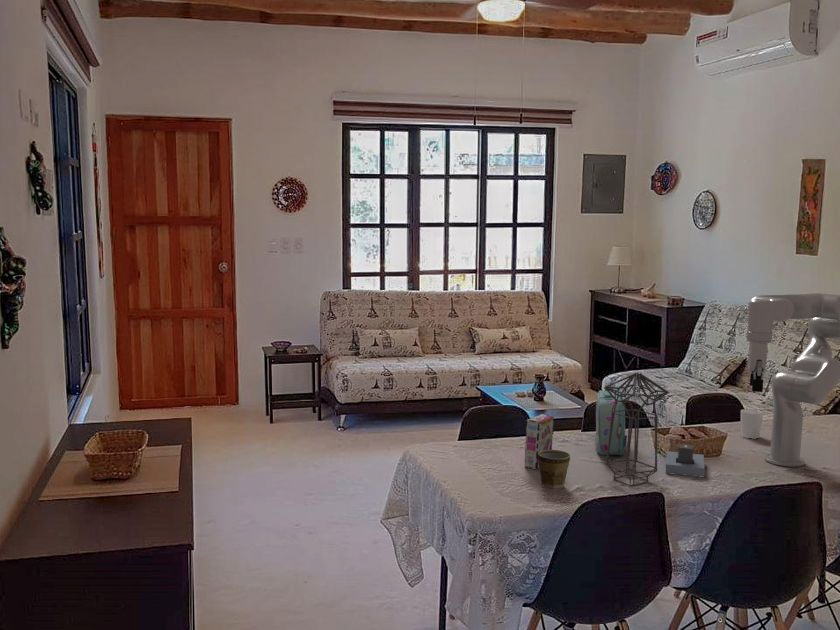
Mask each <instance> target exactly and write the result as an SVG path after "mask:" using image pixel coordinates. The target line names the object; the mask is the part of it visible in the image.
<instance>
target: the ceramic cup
mask: <svg viewBox="0 0 840 630" xmlns="http://www.w3.org/2000/svg"><path fill="white" fill-rule="evenodd" d="M570 460H571V454H570V453H569V452H567V451H564V450H558V449H552V450H543V451H540V452H538V461H539V467H540V468H539V473H540V479H541V480H540V481H541V485H542V486H543V485H544V486H543V487H545V488H546V487H548V488H547V489H552V488H558V489H562V488H563V487H564V486H565V482H566V478H567V472H568V469H569V465H570Z"/></svg>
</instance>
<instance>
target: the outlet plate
mask: <svg viewBox="0 0 840 630" xmlns="http://www.w3.org/2000/svg"><path fill="white" fill-rule="evenodd" d="M678 453H679V451H678V452H677V451H666V458H665V471H664V472H665V474H669V473H674V474H673V475H678V474H686V475H685V476H687V475H697V476H704V477H705V457H704V454H699V453H698V454H697V453H693V458H692V464H684V463H678ZM697 476H696V477H697Z"/></svg>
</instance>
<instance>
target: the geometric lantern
mask: <svg viewBox="0 0 840 630" xmlns="http://www.w3.org/2000/svg"><path fill="white" fill-rule="evenodd" d="M623 381H624V382H623ZM632 381H633V383H632ZM620 382H623V383H622V384H620V386H618V387H616V386H613V385H615V384H618V383H620ZM652 385H653V386H652ZM654 386H655V387H656V388H657V389H655V388H654ZM637 387H638V394H637V395H636V388H637ZM628 388H629V389H628ZM603 389H604V390H605V391H608V393H609V394H610V395H611V396H612V397H613V399H614V400H615V402H616V403H615V402H614V405H615V407H614V405H613V408H614V411H613V408H612V411H613V412H612V411H611V412H612V414H611V424H610V433H609V443H608V452H607V455H606V461H605V465H606V467H608V468H609V470H611V472H612V473H613V481H616V482H619V483H622V484H624V485H626V486H629V487H634V486H638V485H643V484H647V483H649V477H650V476H652V475H653V474H655V473H657V471H658V425H659V424H658V423H659V421H658V420H659V415H658V414H657V407H656V403H657V402H658V401H659V400H661V399H663V398H664V397H665V396H666V395H668V394H670V391H668V390H667V389H665V388H664V387H662V386H660V385H659V384H658V383H656V382H655V381H653V380H651V379H650V378H648V377H647V376H645V375H644V374H643V373H641V372H640V373H639V372H633V373H632V374H630V375H628V376H626V377H624V378H621V379H618V380H616V381H614V382H611V383H609V384H607V385H605V386H604V387H603ZM621 389H622V390H621ZM627 389H628V390H627ZM658 389H659V390H658ZM619 390H621V392H620V391H619ZM610 391H611V392H612V393H614V394H615V397H614V396H613V395H612V394H611V392H610ZM614 391H615V392H614ZM631 391H632V393H629V392H631ZM646 391H648V392H649V393H650V394H647V392H646ZM617 392H618V394H617ZM641 392H642V393H641ZM619 393H620V395H619ZM616 395H617V399H616ZM619 397H620V399H621V400H618V398H619ZM621 397H622V398H624V399H623V400H622V398H621ZM632 397H637V398H640V400H641V401H642V405H641V406H640V407H639V409H634V408H633V406H632V405H631V403H630V402H629V399H630V398H632ZM644 397H645V398H646V399H645V400H644V399H643V398H644ZM649 400H651V401H652V402H649ZM626 401H627V403H628V405H629V406H630V408H631V409H628V408H627V407H626V404H625V402H626ZM617 402H622V403H623V405H624V409H625V410H619V411H615V409H616V405H617ZM651 405H652V407H653V412H654V413H651V412H647V411H644V410H642V409H643V408H644V407H645V406H647V407H648V406H651ZM621 411H625V412H626V413H627V415H628V416H626V415H625V416H624V415H620V414H617V413H615V412H621ZM630 411H631V414H630ZM635 412H637V413H636V414H635ZM640 412H641V413H644V414H648V415H651V416H647V417H640ZM615 414H617V415H620V416H623V417H625V419H626V418H627V419H629V420H628V427H627V428H628V429H627V430H628V431H627V444H626V456H625V459H622V460H621V459H619V460H613V461H609V459H610V458H609V456H610V455H609V450H610V443H611V436H612V429H613V423H614V415H615ZM645 419H646V420H647V419H654V465H651V464H649V463H646V462H642V461H640V460H638V455H639V454H638V453H639V452H638V451H639V429H640V420H645ZM633 426H634V442H633V443H634V444H633V445H634V447H633V448H634V450H633V452H634V457H633V458H634V459H631V458H630V452H631V443H632V434H633ZM622 462H625V468H624V469H620V468H618V467H616V466H613V465H610V464H615V463H622ZM630 462H633V465H632V467H631V469H630ZM637 463H638V464H641V465H645V466H646V467H649V468H653V469H651V470H643V471H641V470H640V471H638V470H637ZM615 470H616V471H615ZM620 473H624V475H623V474H620ZM637 474H641V475H644V476H637ZM616 475H618V476H616ZM631 477H632V478H631ZM618 478H619V479H620V478H625V479H628V480H629V483H627V482H624V481H622V480H618ZM645 478H646V479H645ZM638 479H640V480H642V481H643V482H639V483H635V480H638Z"/></svg>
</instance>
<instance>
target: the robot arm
mask: <svg viewBox="0 0 840 630" xmlns="http://www.w3.org/2000/svg"><path fill="white" fill-rule="evenodd" d="M747 305H748V306H747V312H748V315H747V316H748V317H747V333H746V342H749V346H748V355H747V356H748V359H747V370H748V372H749V373H750V375H749V376H750V378H749V385H750V386H751V391H752V392H756V393H763V392H764V391H763V390H764V373H765V372H766V367H767V358H768V357H767V356H768V344H771V343H772V342H773V341H772V340H773V326H774V323H773V322H774V321H775V322H777V321H778V322H786V321H789V320H805V319H810V320H809V323H808V343H807V346H806V347H805V348H804V350H802V352H800V354H799V355H798V356H797V357H796V358H795V359H794V361H793V363H792V364H791V367H790V368H791V369H790V371H787V370H786V371H785V370H783V371H779V372H777V373H776V374H774V376H773V377H772V380H771V390H772V391H771V392H772V398H773V399H772V400H773V404H772V405H773V406H772V407H773V408H772V409H773V410H772V421H771V422H772V424H771V437H770V449H769V453H767V454H765V456H764V460H765V461H766V462H768V463H769V464H773V465H776V466H779V467H780V466H781V467H789V468H792V467H793V468H795V467H798V468H799V467H802V466H804V465H805V463H806V462H805V459H803V458H802V457H801V448H802V436H803V435H802V434H803V424H804V423H803V422H804V411H803V408H802V406H801V404H802V403H804V404H808V405H819V404H821V403H823V402H824V401H825V399H826V398H828V396H829V395H830V393H832V391H833V390H834V389H835V388H836V386H837V385H838V384H839V382H840V360H838V359H837V358H835V357H832V356H833V351H832V347H831V345H830V344H829V342H828V339H830V340H831V339H834V340H838V341H839V340H840V294H830V293H821V292H820V293H819V292H816V293H815V292H814V293H801V294H800V293H799V294H767V295H766V294H765V295H763V294H761V295H755V296H754V297H752V298H751V299H750V300H749V302H748V304H747ZM800 403H801V404H800Z"/></svg>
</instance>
